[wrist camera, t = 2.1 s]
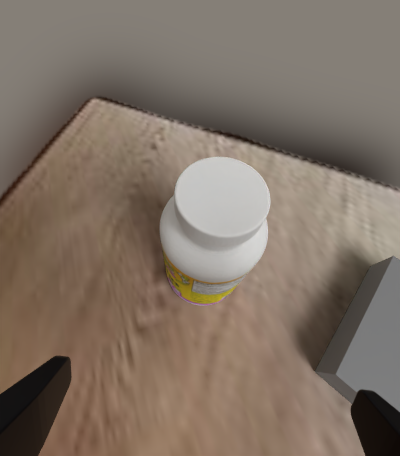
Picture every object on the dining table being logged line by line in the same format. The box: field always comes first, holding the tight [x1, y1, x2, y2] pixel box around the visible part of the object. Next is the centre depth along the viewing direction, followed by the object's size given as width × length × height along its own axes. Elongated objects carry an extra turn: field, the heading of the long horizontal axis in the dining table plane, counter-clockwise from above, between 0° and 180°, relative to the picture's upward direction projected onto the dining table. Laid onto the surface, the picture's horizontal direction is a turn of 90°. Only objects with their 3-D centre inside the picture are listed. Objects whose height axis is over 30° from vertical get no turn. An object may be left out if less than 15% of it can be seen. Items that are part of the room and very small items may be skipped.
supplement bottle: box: [160, 157, 270, 305], centre depth 17 cm, size 7×7×13 cm
